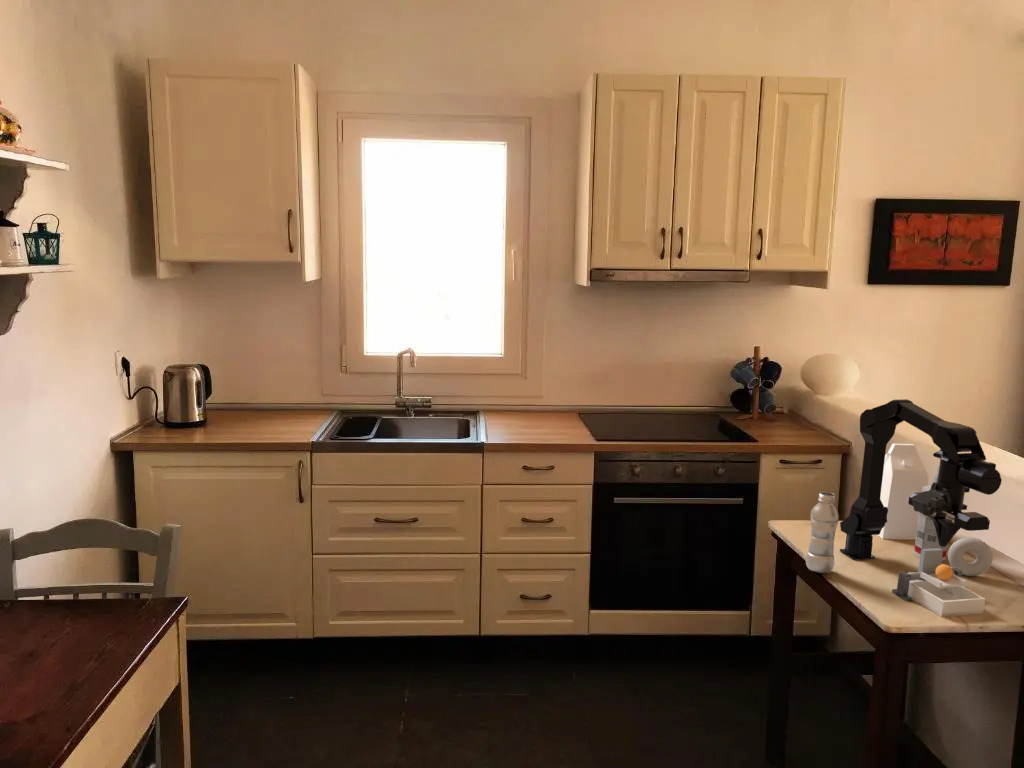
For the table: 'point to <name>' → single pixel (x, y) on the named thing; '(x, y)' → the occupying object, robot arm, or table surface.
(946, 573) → the ball
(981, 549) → the donut
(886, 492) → the milk
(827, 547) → the plastic bottle
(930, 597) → the white storage bin
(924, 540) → the spray bottle
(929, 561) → the lever
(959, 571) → the stand
